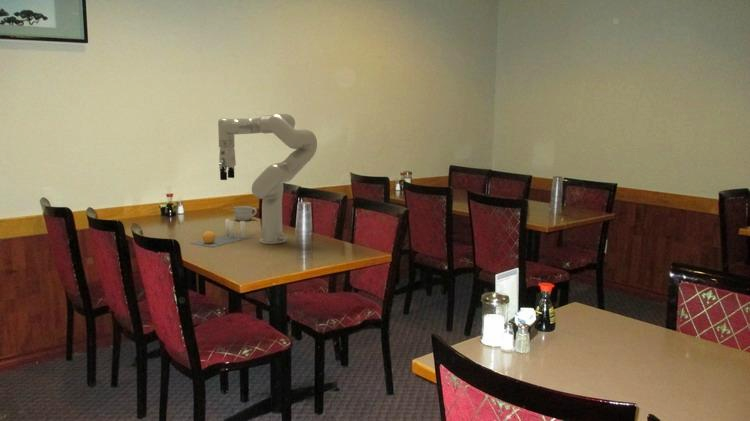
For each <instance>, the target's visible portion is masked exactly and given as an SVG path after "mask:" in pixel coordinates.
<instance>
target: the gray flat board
mask: <svg viewBox="0 0 750 421" xmlns="http://www.w3.org/2000/svg"><path fill="white" fill-rule="evenodd" d="M250 238H252V237H251V236H246V235H245V238H240V234H234V238H229V236H226V234H225V235H221V236H220V235H219V236H216V238H215V241H214V242H213V243H210V244H207V243H205V242H204V241H203V239H202V240H198V241H194V242H191V243H190V244H191V245H196V246H203V247H208V248H215V247H219V246H223V245H226V244H230V243H234V242H239V241H242V240H246V239H247V240H248V239H250Z"/></svg>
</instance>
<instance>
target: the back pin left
mask: <svg viewBox="0 0 750 421" xmlns="http://www.w3.org/2000/svg"><path fill="white" fill-rule="evenodd" d="M239 233H240V234H239V235H240V238H245V236H246V221H239Z"/></svg>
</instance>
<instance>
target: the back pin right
mask: <svg viewBox="0 0 750 421" xmlns="http://www.w3.org/2000/svg"><path fill="white" fill-rule="evenodd" d="M224 220H225V222H224V224H225V225H224V226H225V227H224V228H225V230H224V232H225V235H226V236H229V221H231V219H230V218H226V219H224Z"/></svg>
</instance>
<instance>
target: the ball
mask: <svg viewBox="0 0 750 421" xmlns="http://www.w3.org/2000/svg"><path fill="white" fill-rule="evenodd" d="M216 237H217V236H216V234H215V232H213V231H211V230H207V231H205V232H203V234H202V240H203V241H204V242H205V243H207V244H210V243H213V242H214V241H215V238H216Z"/></svg>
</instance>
